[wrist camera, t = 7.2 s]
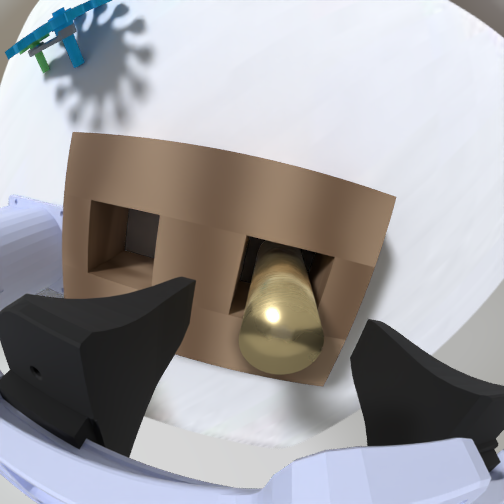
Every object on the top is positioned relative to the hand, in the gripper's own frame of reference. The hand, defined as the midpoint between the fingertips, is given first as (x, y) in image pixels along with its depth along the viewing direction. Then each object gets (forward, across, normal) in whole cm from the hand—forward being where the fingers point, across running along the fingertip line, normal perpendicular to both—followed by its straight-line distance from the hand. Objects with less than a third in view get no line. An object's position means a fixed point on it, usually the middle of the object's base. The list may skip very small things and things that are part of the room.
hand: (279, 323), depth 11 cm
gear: (+9, +20, -15) cm, 27 cm away
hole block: (+9, +4, 0) cm, 10 cm away
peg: (+9, 0, 0) cm, 9 cm away
